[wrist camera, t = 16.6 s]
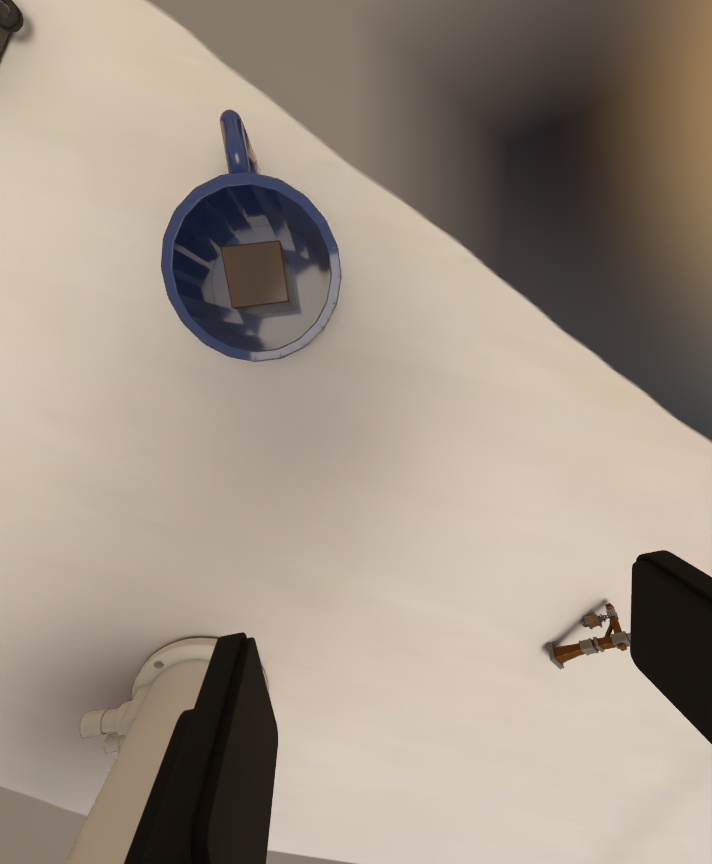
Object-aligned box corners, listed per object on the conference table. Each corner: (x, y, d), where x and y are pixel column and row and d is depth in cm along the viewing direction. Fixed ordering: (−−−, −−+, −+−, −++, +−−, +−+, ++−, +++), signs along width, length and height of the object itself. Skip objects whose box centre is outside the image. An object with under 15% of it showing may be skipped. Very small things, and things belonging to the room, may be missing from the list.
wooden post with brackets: (625, 606, 39) (644, 650, 35) (551, 629, 43) (561, 671, 39) (615, 596, 39) (633, 640, 35) (541, 621, 43) (550, 662, 39)
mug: (343, 345, 31) (350, 349, 23) (221, 361, 31) (184, 371, 23) (319, 157, 28) (317, 83, 20) (181, 171, 28) (122, 101, 19)
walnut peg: (252, 314, 30) (231, 308, 23) (244, 267, 29) (219, 246, 22) (296, 309, 30) (289, 301, 23) (289, 261, 29) (279, 239, 22)
